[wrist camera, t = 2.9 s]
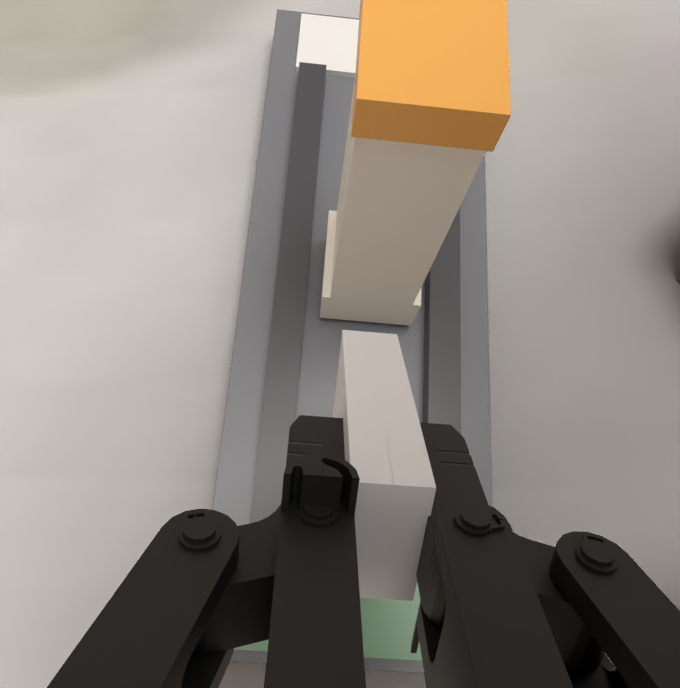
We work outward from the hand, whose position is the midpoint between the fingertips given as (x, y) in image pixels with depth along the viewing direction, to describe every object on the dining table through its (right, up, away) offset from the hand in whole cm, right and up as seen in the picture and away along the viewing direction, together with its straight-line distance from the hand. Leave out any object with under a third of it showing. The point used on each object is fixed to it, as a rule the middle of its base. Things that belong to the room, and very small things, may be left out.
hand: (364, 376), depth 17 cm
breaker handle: (0, +3, +8) cm, 8 cm away
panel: (0, +3, +10) cm, 10 cm away
